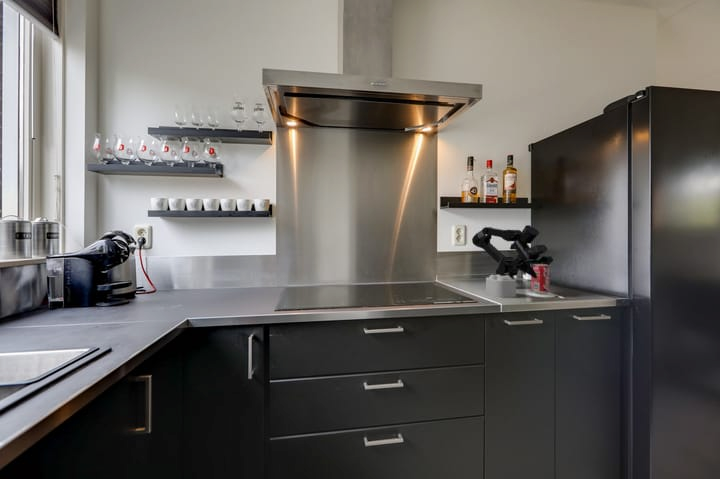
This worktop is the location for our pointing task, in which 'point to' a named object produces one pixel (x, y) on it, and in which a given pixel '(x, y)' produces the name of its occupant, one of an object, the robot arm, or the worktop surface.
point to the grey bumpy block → (500, 286)
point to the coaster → (540, 294)
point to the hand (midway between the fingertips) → (543, 277)
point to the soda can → (540, 278)
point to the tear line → (557, 295)
